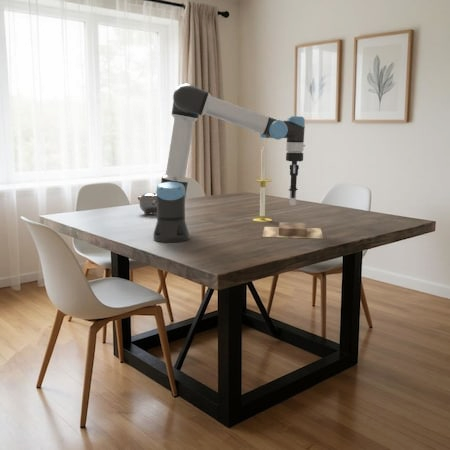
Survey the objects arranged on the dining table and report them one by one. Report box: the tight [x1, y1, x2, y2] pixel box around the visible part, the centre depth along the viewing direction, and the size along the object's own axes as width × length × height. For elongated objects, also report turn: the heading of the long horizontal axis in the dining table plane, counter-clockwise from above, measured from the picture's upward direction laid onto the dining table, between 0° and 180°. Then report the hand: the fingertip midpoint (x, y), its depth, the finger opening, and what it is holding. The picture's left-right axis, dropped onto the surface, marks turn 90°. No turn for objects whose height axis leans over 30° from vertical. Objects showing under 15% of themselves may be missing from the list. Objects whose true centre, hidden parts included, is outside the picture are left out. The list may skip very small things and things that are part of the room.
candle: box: [252, 145, 273, 223], centre depth 269 cm, size 10×10×38 cm
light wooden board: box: [261, 226, 324, 240], centre depth 242 cm, size 26×22×1 cm
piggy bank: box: [137, 192, 157, 217], centre depth 287 cm, size 11×15×12 cm
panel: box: [278, 222, 308, 236], centre depth 241 cm, size 12×3×14 cm
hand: (292, 204), depth 243 cm, fingers closed
